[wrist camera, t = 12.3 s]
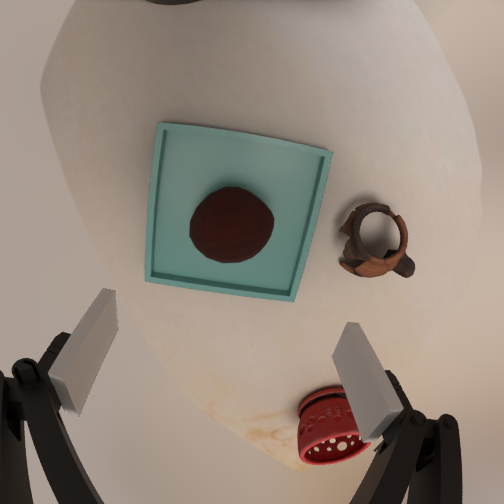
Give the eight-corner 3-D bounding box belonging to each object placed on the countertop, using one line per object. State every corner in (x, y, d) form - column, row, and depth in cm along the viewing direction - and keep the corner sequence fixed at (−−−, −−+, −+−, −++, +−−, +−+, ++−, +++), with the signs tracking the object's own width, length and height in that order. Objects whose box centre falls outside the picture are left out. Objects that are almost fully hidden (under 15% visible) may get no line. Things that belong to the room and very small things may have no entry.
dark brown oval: (275, 239, 36) (284, 267, 29) (201, 252, 36) (193, 283, 29) (264, 174, 33) (272, 186, 25) (185, 190, 33) (171, 206, 26)
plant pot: (327, 373, 47) (344, 426, 36) (366, 393, 51) (385, 439, 40) (276, 410, 50) (284, 461, 39) (320, 426, 54) (331, 470, 43)
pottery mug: (317, 261, 39) (334, 253, 30) (342, 201, 40) (363, 181, 32) (388, 297, 38) (418, 298, 30) (409, 239, 39) (440, 228, 31)
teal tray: (162, 122, 30) (157, 122, 28) (327, 150, 32) (333, 151, 30) (148, 274, 37) (144, 281, 36) (291, 294, 40) (294, 302, 38)
